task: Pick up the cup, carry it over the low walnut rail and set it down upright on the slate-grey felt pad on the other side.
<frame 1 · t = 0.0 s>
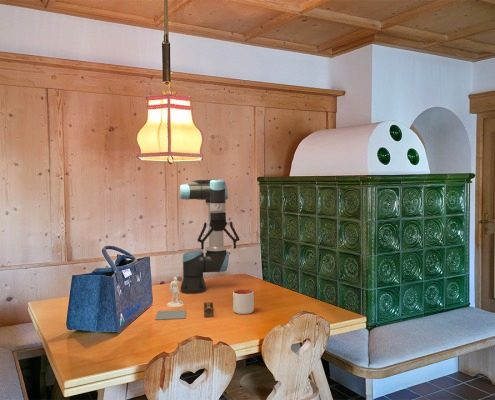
hand: (218, 255, 231), 28 cm above the table, fingers open, 13 cm apart
cup: (243, 312, 234), on the table
figurine: (175, 305, 249), on the table
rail: (208, 313, 232), on the table
pad: (171, 315, 230), on the table
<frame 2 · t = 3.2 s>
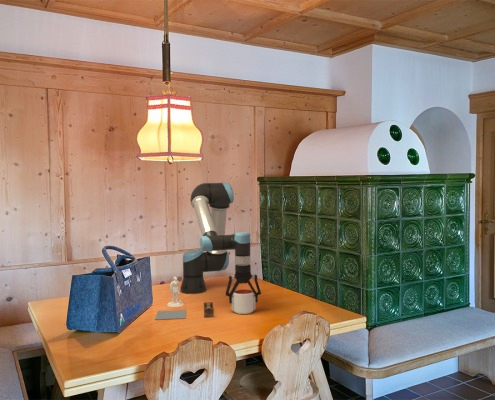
hand: (243, 309, 234), 1 cm above the table, fingers closed on cup, 10 cm apart
cup: (243, 312, 234), on the table, touching gripper
everything else where it was.
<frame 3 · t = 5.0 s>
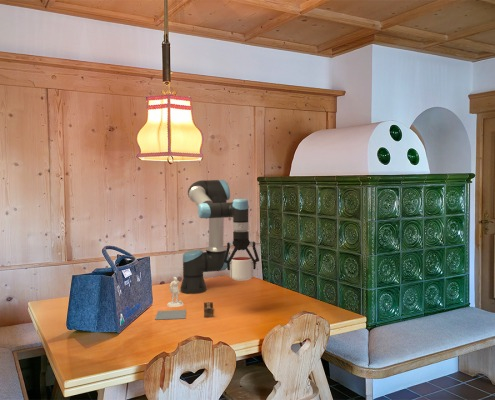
hand: (241, 276, 233), 18 cm above the table, fingers closed on cup, 10 cm apart
cup: (241, 279, 233), point 16 cm above the table, touching gripper
everything else where it was.
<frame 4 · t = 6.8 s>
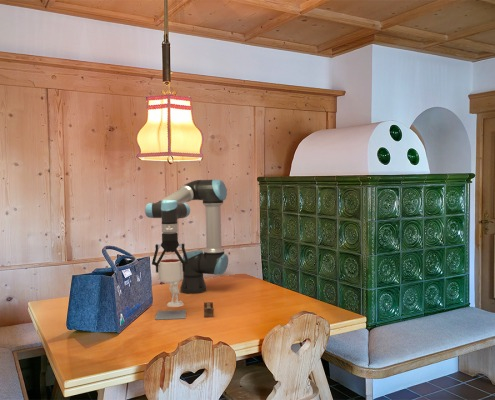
hand: (170, 278, 229), 18 cm above the table, fingers closed on cup, 10 cm apart
cup: (170, 281, 229), point 16 cm above the table, touching gripper
everything else where it was.
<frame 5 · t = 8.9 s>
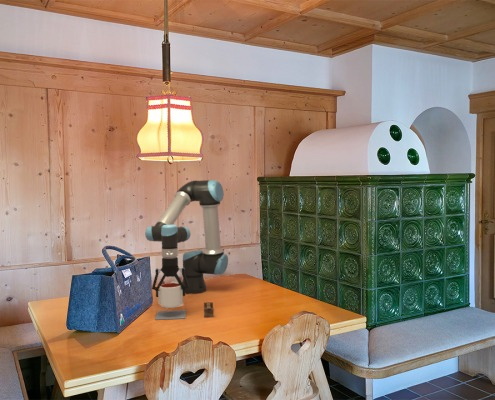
hand: (170, 303, 230), 6 cm above the table, fingers closed on cup, 10 cm apart
cup: (170, 306, 230), point 4 cm above the table, touching gripper
everything else where it was.
when the fingers open (3 cm above the table, at t = 10.5 s): cup drops 1 cm, resting on pad.
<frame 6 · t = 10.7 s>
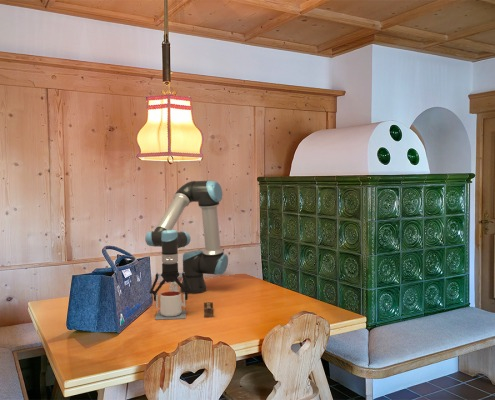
hand: (170, 307, 230), 4 cm above the table, fingers open, 12 cm apart
cup: (171, 314, 230), resting on pad
everything else where it was.
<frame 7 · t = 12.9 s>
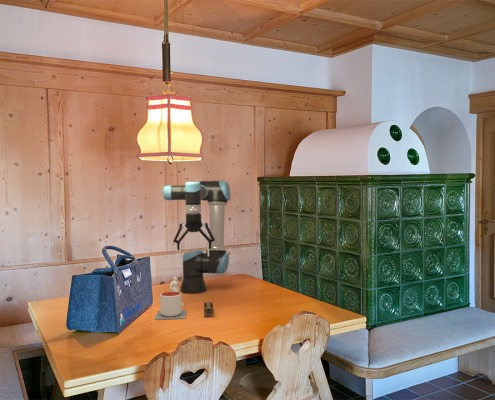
hand: (194, 256, 236), 27 cm above the table, fingers open, 13 cm apart
nothing on the table moved.
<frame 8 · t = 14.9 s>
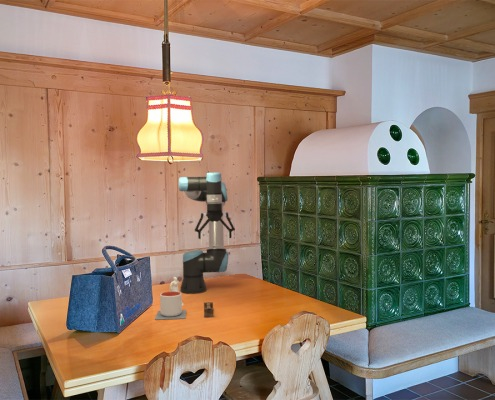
hand: (215, 245, 242), 32 cm above the table, fingers open, 13 cm apart
nothing on the table moved.
at the end: cup inside the target area (0.0 cm from its centre), resting on pad; cup tilted 0°; the gripper is holding nothing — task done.
